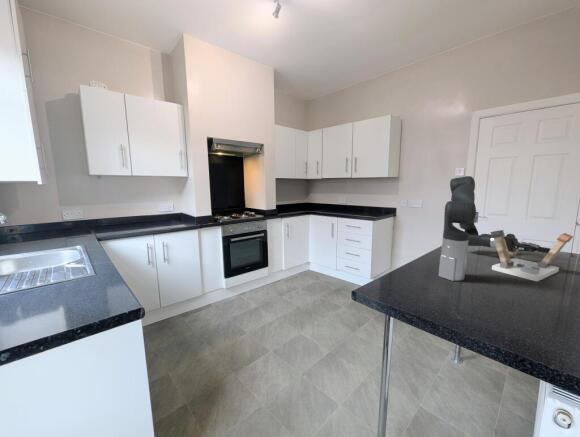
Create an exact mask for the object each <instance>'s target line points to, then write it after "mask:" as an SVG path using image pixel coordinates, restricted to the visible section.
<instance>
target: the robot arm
mask: <svg viewBox="0 0 580 437" xmlns="http://www.w3.org/2000/svg"><path fill="white" fill-rule="evenodd" d="M449 182H450V183H449V188H450V192H451V198H450V199H451V200H449V201H447V202H446V204H445V206H444V217H443V218H444V220H443V221H444V222H443V233H442V243H441V253H440V257H439V268H438V277H440V278H443V279H446V280H449V281H452V282H453V281H456V282H457V281H464V280H465V274H466V266H467V258H468V257H467V256H468V250H469V249H468V247H487V248H491V249H494V250H497V248H496V244H495V241H494V238H492V235H491V233H490V234H489V233H481V234H479V230H478V228H477V227H476V225H475V219H476V216H477V207H476V204H475V200H476V199H475V198H476V197H475V196H476V194H475V191H476V190H475V189H476V181H475V179H474V177H473V176H471V175H470V176H469V175H466V176H462V177H461V176H460V177H454V178H452V179H450V181H449ZM454 224H458V225H459V228H461V229H462V230H461V229H459V228H457V227H456V226H455V225H454ZM504 239H505V242H506V245H507V249H508V251H509V252H515V251H516V249H517V251H519V252H528V253H530V252H531V253H535V252H536V253H544V254H547V253H548V252H549V251H550V250H551V248H550V247H545V246H541V245H540V244H536V243H533V242H526V241H521V242H519V239H518V238H517V237H515V238H514V237H508V236H506V235H505V236H504Z"/></svg>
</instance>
